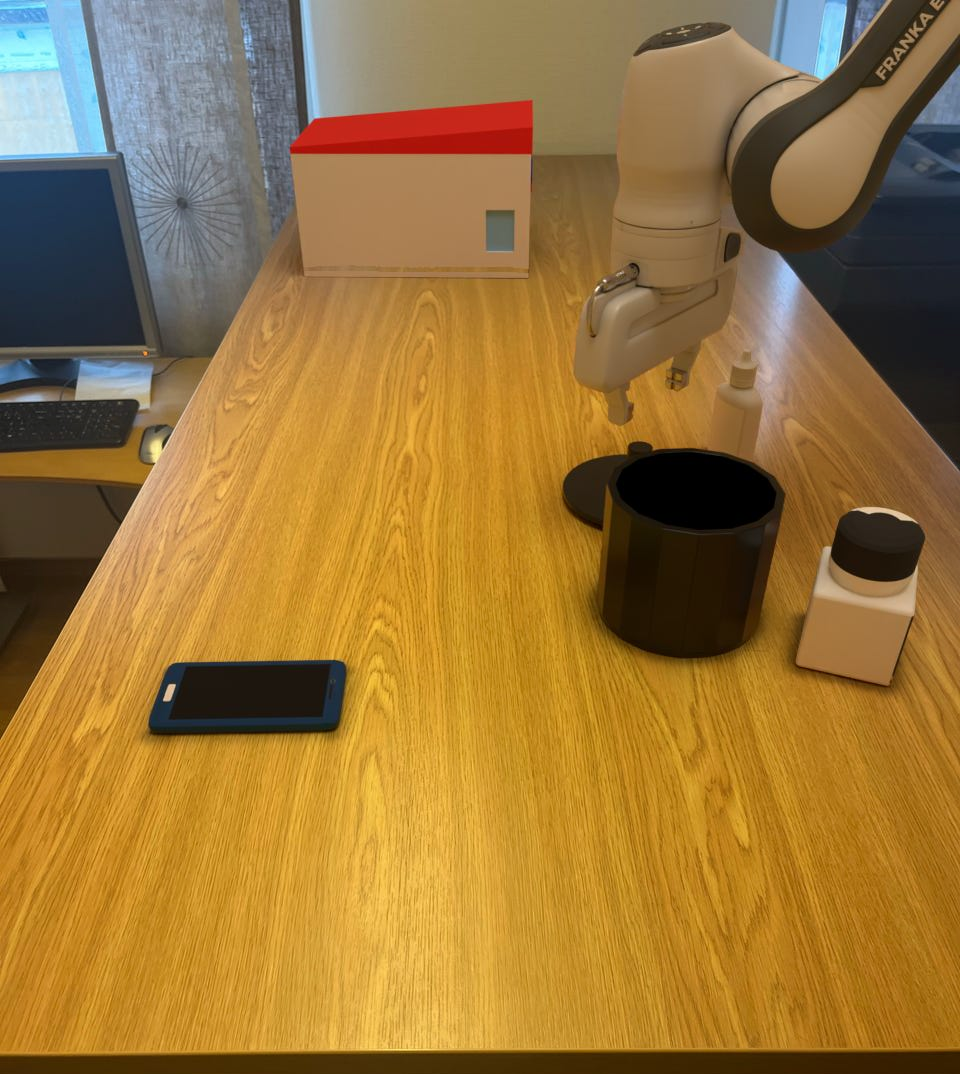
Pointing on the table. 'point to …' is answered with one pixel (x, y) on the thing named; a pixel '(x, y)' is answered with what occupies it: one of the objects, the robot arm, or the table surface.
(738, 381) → the eye dropper bottle
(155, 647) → the table surface
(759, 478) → the tin
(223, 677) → the cell phone
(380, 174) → the bookstore
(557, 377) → the table surface
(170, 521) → the table surface
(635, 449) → the tin lid
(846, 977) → the table surface
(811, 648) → the medicine bottle
